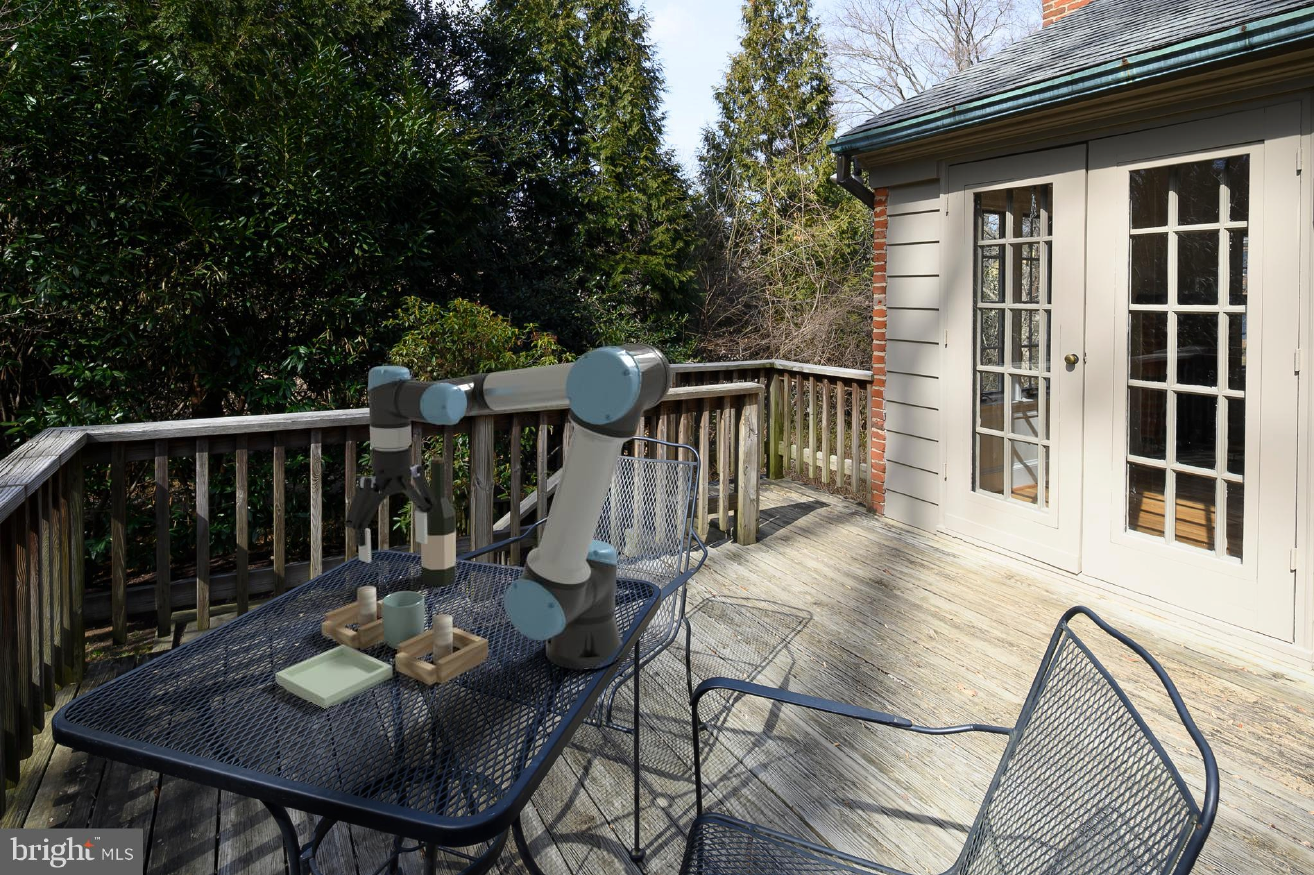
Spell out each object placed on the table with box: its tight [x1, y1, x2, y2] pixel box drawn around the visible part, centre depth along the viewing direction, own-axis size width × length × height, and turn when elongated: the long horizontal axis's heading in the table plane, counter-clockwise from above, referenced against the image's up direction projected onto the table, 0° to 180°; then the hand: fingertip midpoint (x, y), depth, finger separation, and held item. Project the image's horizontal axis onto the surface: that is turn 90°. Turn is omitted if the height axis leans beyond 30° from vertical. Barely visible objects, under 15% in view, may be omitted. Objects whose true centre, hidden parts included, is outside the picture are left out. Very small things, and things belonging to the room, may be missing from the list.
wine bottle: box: [420, 457, 457, 587], centre depth 188 cm, size 8×8×30 cm
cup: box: [381, 590, 426, 649], centre depth 157 cm, size 8×8×10 cm
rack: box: [321, 585, 489, 686], centre depth 157 cm, size 34×15×9 cm, turn 58°
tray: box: [274, 644, 393, 710], centre depth 144 cm, size 14×14×2 cm
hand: (394, 551), depth 158 cm, fingers open, 13 cm apart
